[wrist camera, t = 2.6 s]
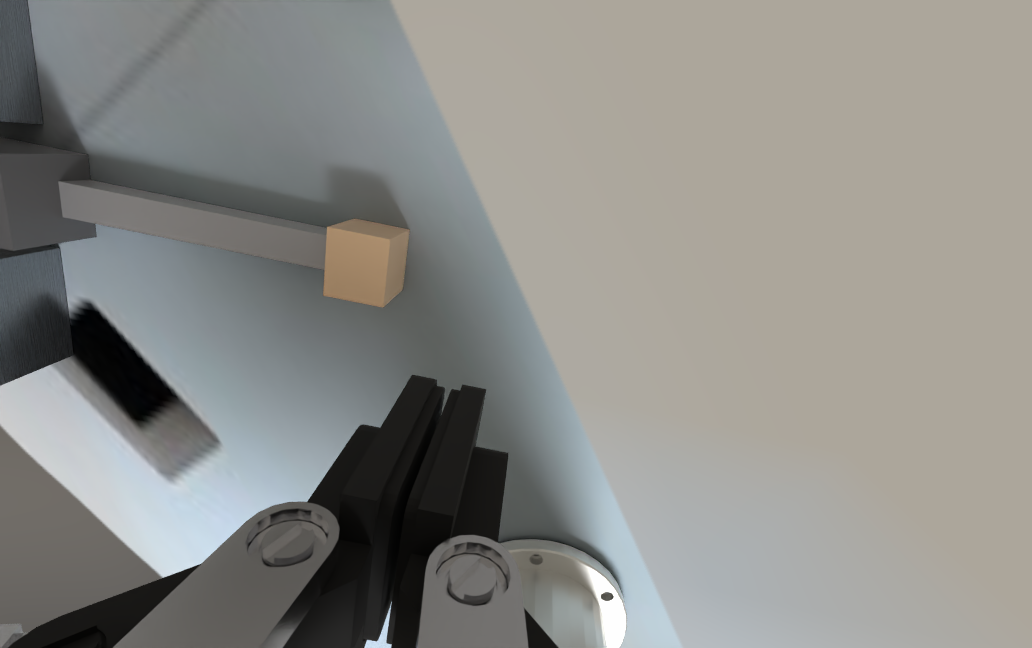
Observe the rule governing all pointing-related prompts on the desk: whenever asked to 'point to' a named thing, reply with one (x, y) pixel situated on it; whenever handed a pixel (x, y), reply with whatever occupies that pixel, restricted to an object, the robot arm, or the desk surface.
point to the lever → (188, 223)
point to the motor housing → (33, 271)
